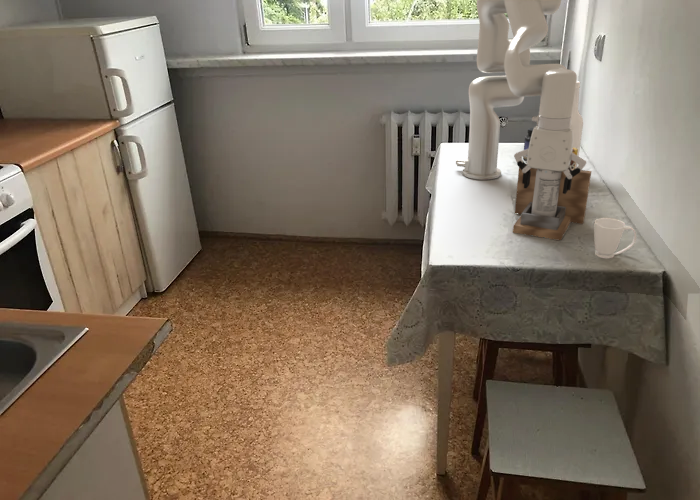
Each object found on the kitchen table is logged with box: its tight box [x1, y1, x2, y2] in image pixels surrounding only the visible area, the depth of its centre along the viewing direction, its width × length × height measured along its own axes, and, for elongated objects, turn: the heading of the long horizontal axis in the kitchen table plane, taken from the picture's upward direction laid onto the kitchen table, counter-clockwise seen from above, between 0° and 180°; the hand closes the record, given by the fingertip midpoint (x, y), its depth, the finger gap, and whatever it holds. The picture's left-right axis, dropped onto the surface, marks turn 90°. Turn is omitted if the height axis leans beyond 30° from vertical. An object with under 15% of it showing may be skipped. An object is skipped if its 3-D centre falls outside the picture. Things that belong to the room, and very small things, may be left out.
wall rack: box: [512, 163, 592, 241], centre depth 150 cm, size 18×15×14 cm
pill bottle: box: [522, 127, 534, 162], centre depth 204 cm, size 6×6×11 cm
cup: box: [593, 217, 638, 260], centre depth 135 cm, size 7×10×8 cm
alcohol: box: [570, 80, 584, 168], centre depth 183 cm, size 9×9×30 cm
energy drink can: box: [531, 169, 562, 217], centre depth 148 cm, size 6×6×15 cm
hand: (545, 189), depth 148 cm, fingers open, 9 cm apart
